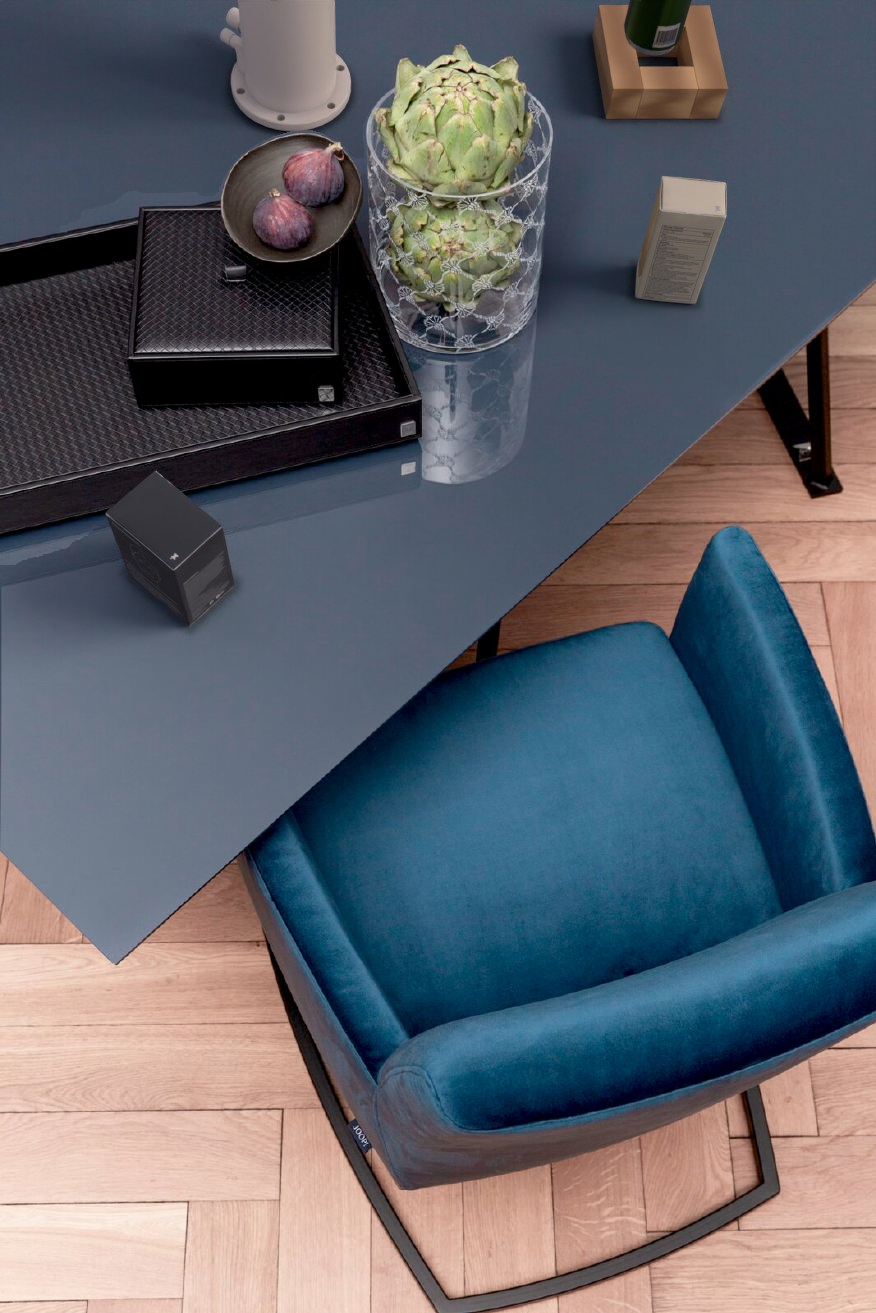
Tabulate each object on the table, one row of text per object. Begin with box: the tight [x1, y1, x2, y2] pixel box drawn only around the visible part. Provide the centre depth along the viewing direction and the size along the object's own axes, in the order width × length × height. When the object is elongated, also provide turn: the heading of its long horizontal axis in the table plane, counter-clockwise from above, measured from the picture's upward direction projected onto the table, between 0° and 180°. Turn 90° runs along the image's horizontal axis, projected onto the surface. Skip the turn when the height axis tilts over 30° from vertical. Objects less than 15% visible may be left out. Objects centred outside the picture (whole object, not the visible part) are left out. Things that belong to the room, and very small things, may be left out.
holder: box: [592, 4, 729, 120], centre depth 131 cm, size 12×12×4 cm
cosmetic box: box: [634, 175, 728, 305], centre depth 116 cm, size 6×4×12 cm
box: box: [105, 470, 235, 627], centre depth 100 cm, size 8×6×11 cm
